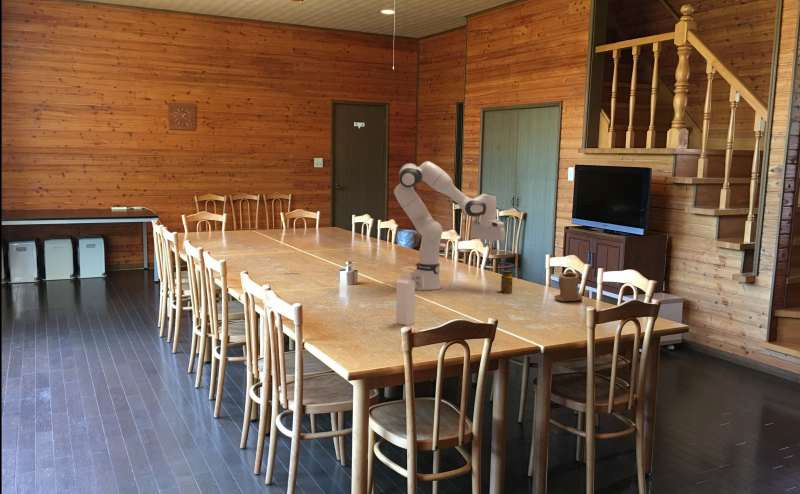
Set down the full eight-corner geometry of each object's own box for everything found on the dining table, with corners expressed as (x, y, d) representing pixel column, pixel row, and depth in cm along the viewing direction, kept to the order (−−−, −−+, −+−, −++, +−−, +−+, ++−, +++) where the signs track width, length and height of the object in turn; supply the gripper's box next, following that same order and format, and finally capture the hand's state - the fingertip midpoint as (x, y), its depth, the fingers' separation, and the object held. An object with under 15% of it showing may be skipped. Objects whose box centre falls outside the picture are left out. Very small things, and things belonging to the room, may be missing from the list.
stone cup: (560, 304, 337) (562, 275, 335) (551, 298, 349) (552, 271, 347) (588, 303, 340) (590, 274, 338) (578, 298, 352) (579, 270, 350)
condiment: (515, 293, 362) (516, 271, 361) (503, 294, 358) (504, 273, 356) (506, 290, 368) (507, 269, 367) (494, 292, 364) (495, 270, 362)
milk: (403, 320, 299) (404, 273, 296) (414, 323, 296) (415, 274, 293) (395, 323, 294) (396, 274, 292) (406, 325, 291) (407, 276, 288)
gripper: (468, 221, 368) (468, 246, 370) (501, 224, 356) (500, 249, 358) (474, 220, 373) (473, 244, 375) (507, 223, 361) (506, 248, 363)
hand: (487, 247), depth 366 cm, fingers closed
